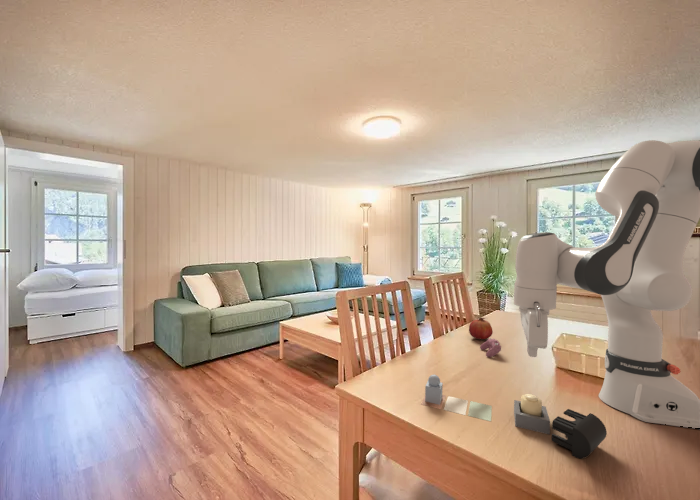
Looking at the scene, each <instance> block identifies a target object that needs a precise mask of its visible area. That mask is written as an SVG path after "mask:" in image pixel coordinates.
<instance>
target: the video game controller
mask: <svg viewBox="0 0 700 500" xmlns="http://www.w3.org/2000/svg"><path fill="white" fill-rule="evenodd" d="M500 344H501V343H500V342H499V340H497V339H495V338H491V337H489V338H487V339H486V341H485V342H483V343H481V344H480V345H479V346H480V347H479V349H480V350H483V351H484V350H488V351H486V353H485V356H486V357H487V358H493V357H494V356H496V355H497V354H499V353H500V352H501V351H502V346H501V345H500Z"/></svg>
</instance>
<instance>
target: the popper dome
mask: <svg viewBox="0 0 700 500" xmlns="http://www.w3.org/2000/svg"><path fill="white" fill-rule="evenodd" d="M520 401H521V413H525V414H529V415H534V416H538V417H541V415H542V406H543V401H542V399H541V398H539V397H538V396H536V395H535V394H532V393H526V394H522V395H521V397H520Z"/></svg>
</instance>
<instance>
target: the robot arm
mask: <svg viewBox="0 0 700 500" xmlns="http://www.w3.org/2000/svg"><path fill="white" fill-rule="evenodd" d="M600 180H601V181H600V182H599V183H598V185H597V187H596V191H595V199H596V202H597V204H598V205H599V206H600V208H602V209H603V210H604V211H606V212H607V213H608V214H610V215H612V216H614V217H617V220H616V222H615V224H614V225H613V227H612V230H611V231H610V233H609V234H608V235H609V236H608V237H607V239H606V241H605V242H603V243H601V244H600V245H597V246H595V247H578V246H573V245H570V244H568V243H566V242H564V241H562V240H561V239H560V238H559V237H558V236H557V235H556V233H554V232H548V231H547V232H544V231H542V232H535V233H529V234H525V235H523V236H522V237H520V239H519V240H518V243H517V247H516V252H515V253H516V255H515V263H514V264H515V265H514V266H515V272H516V278H515V281H514V292H513V304H514V305H515V306H517V307H519V309H518V311H519V312H520V322H521V327H522V330H523V333H524V336H525V339H526V345H527V349H526V350H527V354H528V356H529V357H531V358H537V356H538V349H543V350H544V349H547V347H548V339H549V338H548V337H549V336H548V335H549V334H548V333H549V321H548V316H549V315H550V311H551V310H555V309H556V308H557V296H558V295H557V294H558V293H557V290H558V289H557V288H558V287H557V285H562V286H567V287H570V288H573V289H574V288H575V289H579V290H580V289H581V290H584V291H587V292H589V293H590V292H591V293H594V294H596V295H600V296H601V299H602V302H603V306H604V309H605V314H606V319H607V326H608V327H607V329H608V330H607V331H608V332H607V348H606V349H605V355H604V368H605V374H604V378H603V379H604V380H603V382H602V383H603V384H602V386H601V389H600V391H599V393H598V398H599V399H600V400H601V401H602V402H603V403H604V404H606V405H608V406H610V407H612V408H614V409H616V410H619V411H621V412H623V413H626V414H628V415H631V416H632V417H633V418H636V419H638V420H640V421H642V422H646V423H653V424H659V425H660V424H661V425H665V424H666V425H667V426H674V427H680V426H683V427H682V428H688V427H692V428H691V429H695V428H700V397H698V395H697V394H696V393H695V392H694V391H692V390H691V389H690V388H689V387H687V386H686V385H685V384H684V383H682V382H681V381H680V380H679V379H677V378H676V377H674V376H673V375H679V374H681V372H682V371H681V369H680V368H679V367H678V366H677V365H675V364H672V363H670V362H668V361H667V360H665V359H663V357H662V356H663V339H664V333H663V330H662V328H661V327H660V325H659V324H658V322H656V320H655V318H654V316H653V313H652V311H658V312H659V311H661V312H663V311H664V312H666V311H667V312H671V311H677V310H680V309H682V308H684V307H686V306H687V305H688V304H689V302H690V301H691V299H692V297H693V288H692V285H691V282H690V281H689V280H688V279H687V277H686V276H685V273H684V272H685V271H684V257H685V252H686V249H687V247H688V245H689V242H690V241H691V238H692V236H693V233H694V231H695V229H696V227H697V226H698V223H699V221H700V140H680V141H679V140H678V141H674V142H669V143H666V142H664V141H660V140H653V139H651V140H650V139H649V140H643V141H639V142H638V143H635V144H634V145H632V146H631V147H629V149H627V150H626V151H625V152H624V153H623V154H622V155H620V157H619V158H618V159H617V160H616V161H615V162H614V163H613V164H612V166H611V167H610V168H609V169H608V171H607V172H606V173H605V175H604V176H603V178H601V179H600ZM672 374H673V375H672Z"/></svg>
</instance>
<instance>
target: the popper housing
mask: <svg viewBox="0 0 700 500" xmlns="http://www.w3.org/2000/svg"><path fill="white" fill-rule="evenodd" d="M513 402H514V403H513V416H514V424H515V427H517V428H521V429H526V430H528V431H533V432H538V433H542V434H545V435H550V434H551V433H550V432H551V430H550V429H551V420H550V417H549V412H548V409H547V406H545V405H542V415H541V417H538V416H534V415H529V414H525V413H521V400H516V399H514V401H513Z"/></svg>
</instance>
